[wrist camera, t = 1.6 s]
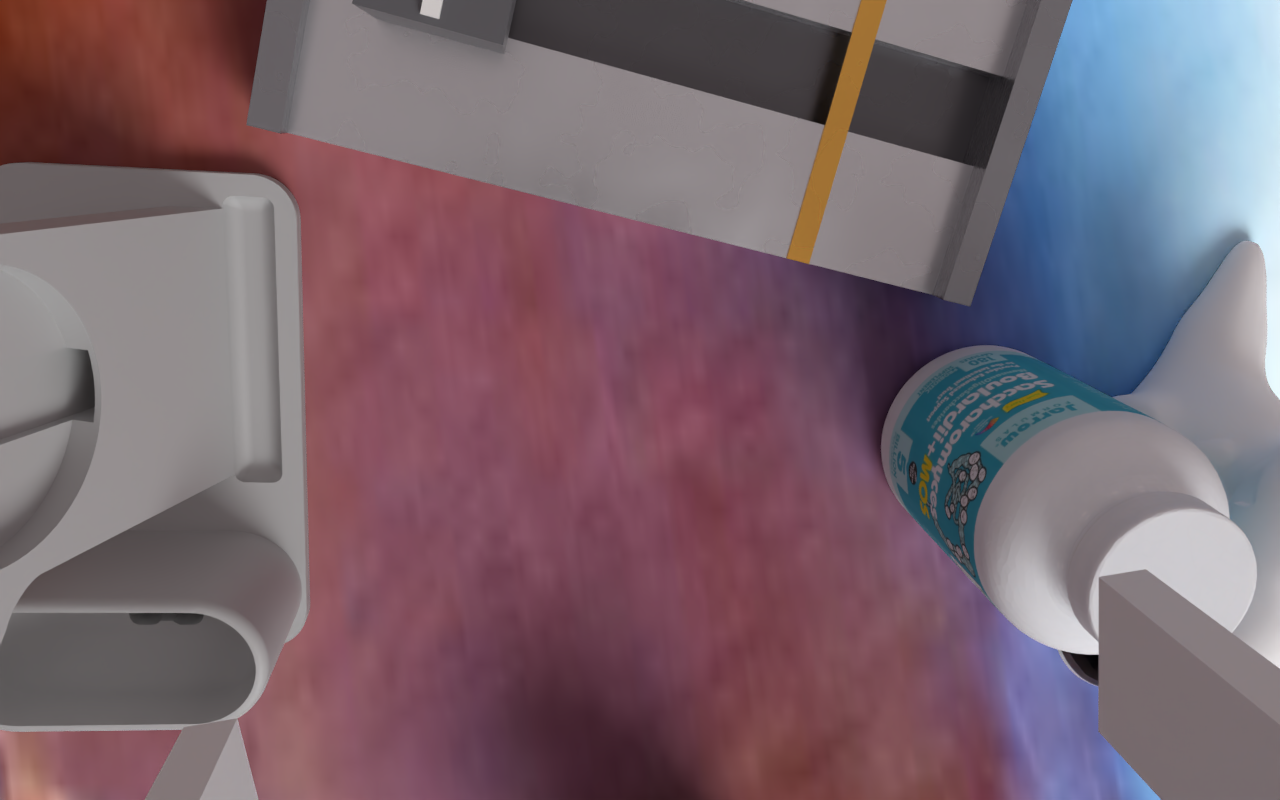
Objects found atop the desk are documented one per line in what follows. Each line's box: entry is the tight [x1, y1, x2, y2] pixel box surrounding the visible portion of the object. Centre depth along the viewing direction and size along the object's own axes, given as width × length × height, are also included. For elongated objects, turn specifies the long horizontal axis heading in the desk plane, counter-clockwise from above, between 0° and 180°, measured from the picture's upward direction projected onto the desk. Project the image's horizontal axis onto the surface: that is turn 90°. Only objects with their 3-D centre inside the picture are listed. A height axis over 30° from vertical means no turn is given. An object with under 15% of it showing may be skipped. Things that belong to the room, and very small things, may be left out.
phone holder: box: [0, 162, 310, 732], centre depth 29 cm, size 17×10×18 cm, turn 177°
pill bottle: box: [881, 345, 1257, 655], centre depth 34 cm, size 8×7×14 cm
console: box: [247, 0, 1072, 306], centre depth 34 cm, size 24×12×3 cm, turn 76°
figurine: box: [1058, 241, 1280, 686], centre depth 36 cm, size 8×18×12 cm, turn 165°
